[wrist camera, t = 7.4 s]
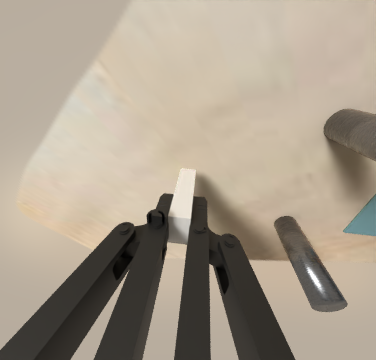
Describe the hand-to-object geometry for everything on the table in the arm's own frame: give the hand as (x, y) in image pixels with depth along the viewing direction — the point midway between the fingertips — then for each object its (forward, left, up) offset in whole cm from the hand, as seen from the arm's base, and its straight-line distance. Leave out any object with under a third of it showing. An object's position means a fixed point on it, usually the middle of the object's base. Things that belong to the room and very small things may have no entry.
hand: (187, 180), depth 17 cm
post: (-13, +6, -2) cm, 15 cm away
